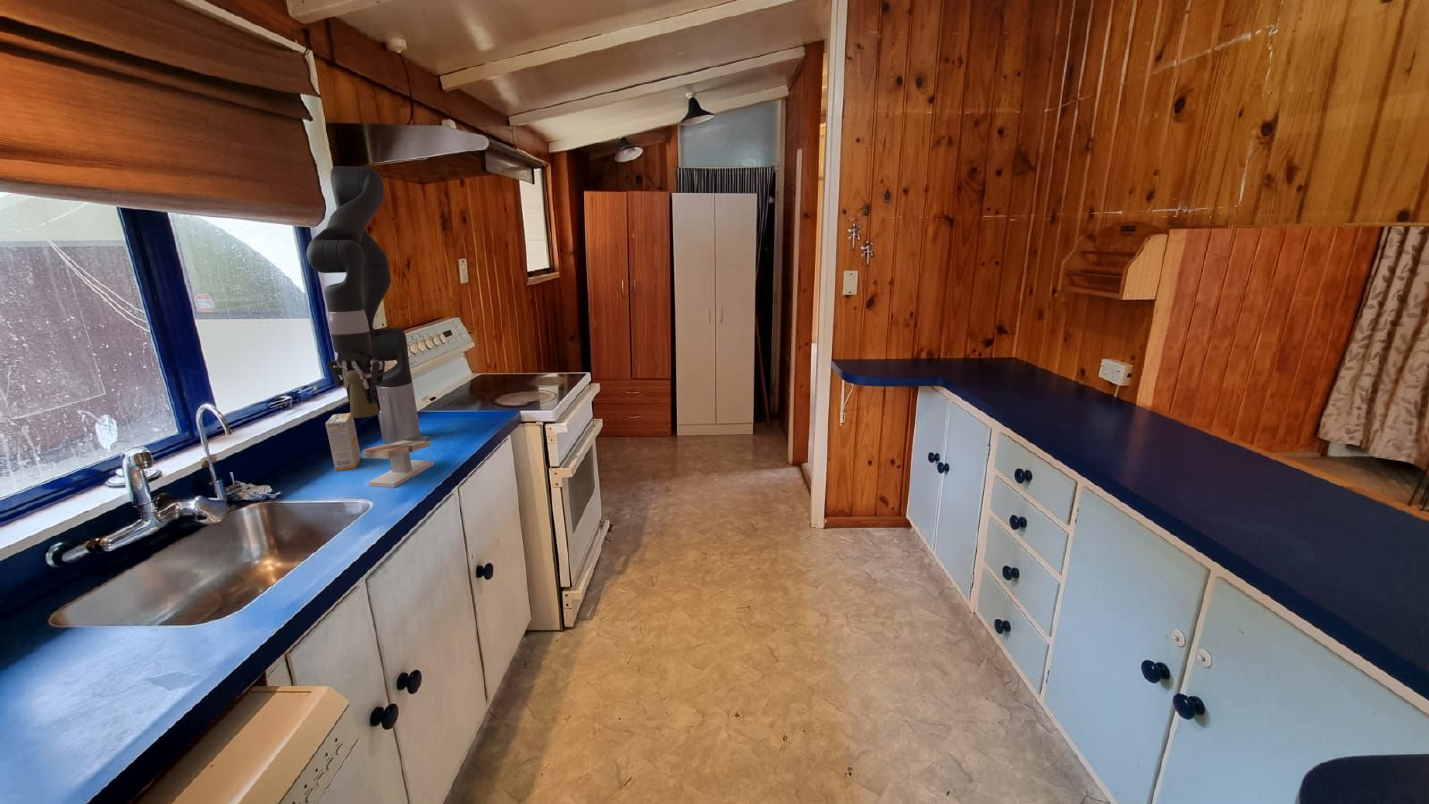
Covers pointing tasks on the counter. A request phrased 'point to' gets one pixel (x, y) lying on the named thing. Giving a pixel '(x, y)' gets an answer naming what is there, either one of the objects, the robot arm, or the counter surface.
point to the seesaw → (397, 447)
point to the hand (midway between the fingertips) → (363, 402)
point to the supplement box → (343, 441)
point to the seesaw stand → (400, 471)
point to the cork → (359, 396)
